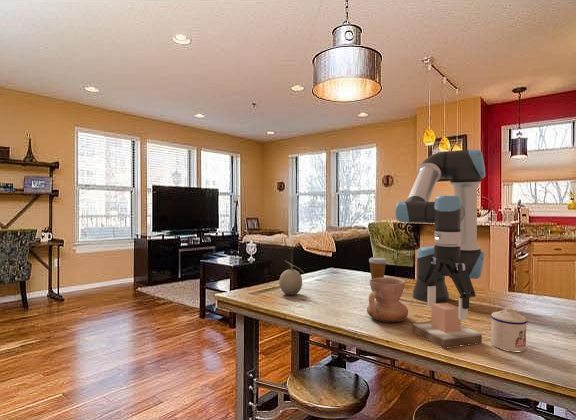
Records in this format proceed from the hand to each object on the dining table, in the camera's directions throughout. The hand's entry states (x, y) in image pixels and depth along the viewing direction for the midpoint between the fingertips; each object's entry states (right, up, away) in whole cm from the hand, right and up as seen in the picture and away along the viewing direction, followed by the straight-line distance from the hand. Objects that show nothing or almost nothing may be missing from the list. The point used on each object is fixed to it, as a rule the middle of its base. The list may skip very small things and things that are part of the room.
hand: (446, 312), depth 112 cm
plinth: (0, -8, 0) cm, 8 cm away
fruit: (-48, -7, +52) cm, 71 cm away
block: (0, -5, 0) cm, 5 cm away
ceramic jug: (-14, -8, +17) cm, 24 cm away
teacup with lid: (+16, -8, -6) cm, 19 cm away
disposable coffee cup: (-1, -7, +84) cm, 84 cm away
